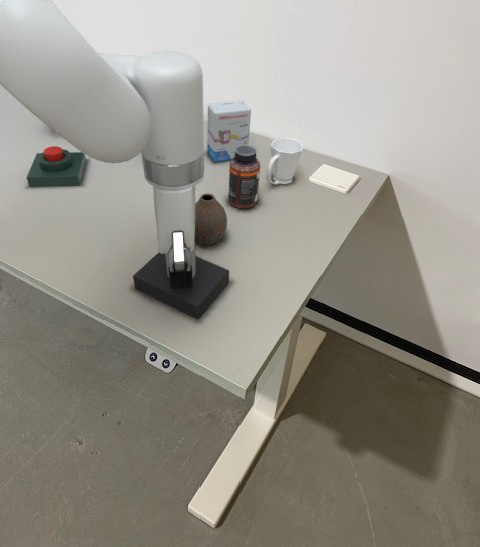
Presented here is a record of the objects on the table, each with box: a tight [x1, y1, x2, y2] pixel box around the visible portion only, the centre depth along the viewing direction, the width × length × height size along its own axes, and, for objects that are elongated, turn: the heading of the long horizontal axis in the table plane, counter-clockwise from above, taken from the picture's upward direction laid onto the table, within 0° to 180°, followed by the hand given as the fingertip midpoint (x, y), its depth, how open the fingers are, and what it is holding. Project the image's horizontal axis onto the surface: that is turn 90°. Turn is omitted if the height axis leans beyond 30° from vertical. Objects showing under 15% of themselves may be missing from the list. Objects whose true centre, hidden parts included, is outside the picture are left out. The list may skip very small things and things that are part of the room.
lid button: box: [43, 145, 64, 161], centre depth 87 cm, size 4×4×2 cm
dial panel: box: [132, 251, 230, 320], centre depth 66 cm, size 12×9×3 cm
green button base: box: [25, 148, 87, 188], centre depth 88 cm, size 10×10×4 cm
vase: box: [194, 193, 228, 245], centre depth 73 cm, size 7×7×9 cm
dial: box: [165, 243, 196, 279], centre depth 63 cm, size 4×4×5 cm
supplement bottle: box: [228, 145, 261, 209], centre depth 81 cm, size 6×6×11 cm
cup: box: [265, 137, 305, 185], centre depth 89 cm, size 7×10×8 cm
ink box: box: [206, 100, 252, 163], centre depth 95 cm, size 9×5×12 cm, turn 112°
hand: (180, 264), depth 64 cm, fingers open, 9 cm apart
